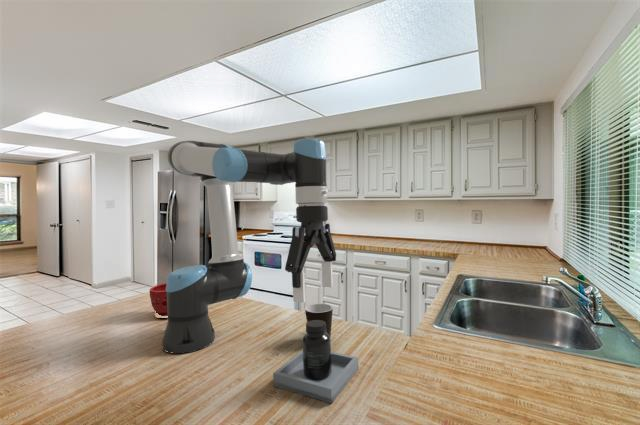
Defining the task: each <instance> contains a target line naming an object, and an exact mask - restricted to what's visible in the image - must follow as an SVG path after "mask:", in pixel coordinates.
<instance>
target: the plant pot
mask: <svg viewBox="0 0 640 425" xmlns="http://www.w3.org/2000/svg"><path fill="white" fill-rule="evenodd" d="M149 298H150V303H151V307H152V308H153V310H154V312H155V311H156V313H158V314H159V315H161V316H168V313H167V292H166V283H165V282H164V283H160V284H157V285H154V286H153V287H151V288H149Z"/></svg>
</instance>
